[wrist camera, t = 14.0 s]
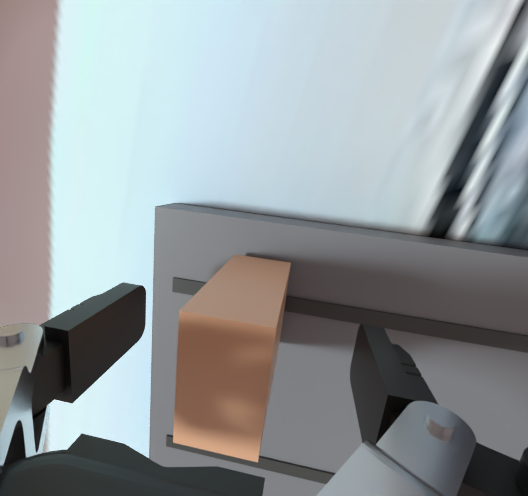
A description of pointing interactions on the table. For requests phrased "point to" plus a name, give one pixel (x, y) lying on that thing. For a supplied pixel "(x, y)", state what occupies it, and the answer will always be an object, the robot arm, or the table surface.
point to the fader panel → (347, 333)
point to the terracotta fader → (229, 357)
